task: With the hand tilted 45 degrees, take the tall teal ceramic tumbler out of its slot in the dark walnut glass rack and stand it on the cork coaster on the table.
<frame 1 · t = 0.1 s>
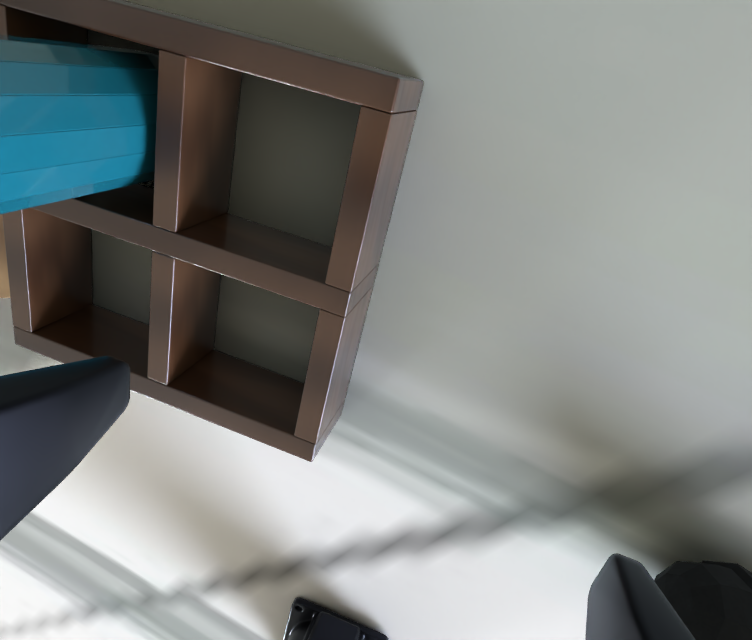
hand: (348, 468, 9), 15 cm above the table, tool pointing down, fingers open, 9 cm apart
glass rack: (216, 220, 25), on the table
tumbler: (149, 116, 24), resting in glass rack
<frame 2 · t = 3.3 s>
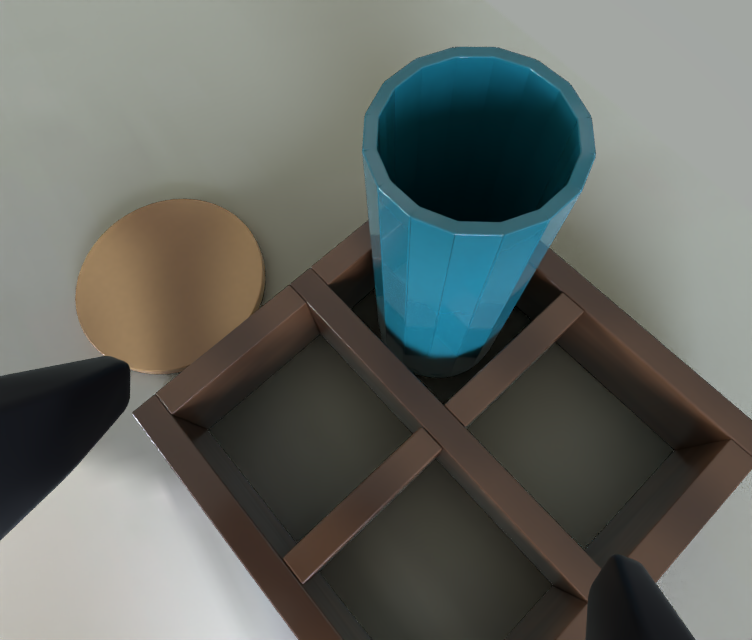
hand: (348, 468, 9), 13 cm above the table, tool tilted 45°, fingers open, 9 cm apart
coaster: (174, 284, 25), on the table
glass rack: (435, 439, 22), on the table
tumbler: (436, 322, 24), resting in glass rack
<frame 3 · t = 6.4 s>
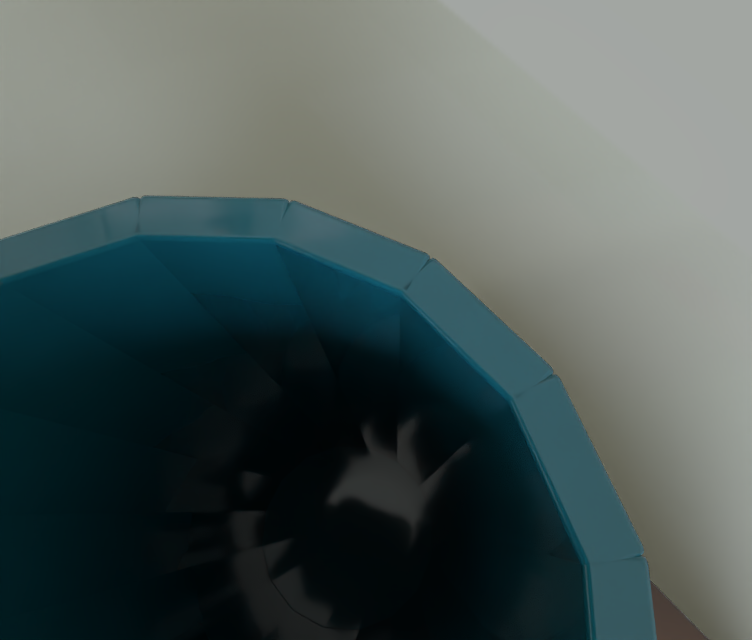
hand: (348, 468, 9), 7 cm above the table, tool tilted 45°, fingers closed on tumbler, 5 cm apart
tumbler: (349, 532, 15), resting in glass rack, touching gripper
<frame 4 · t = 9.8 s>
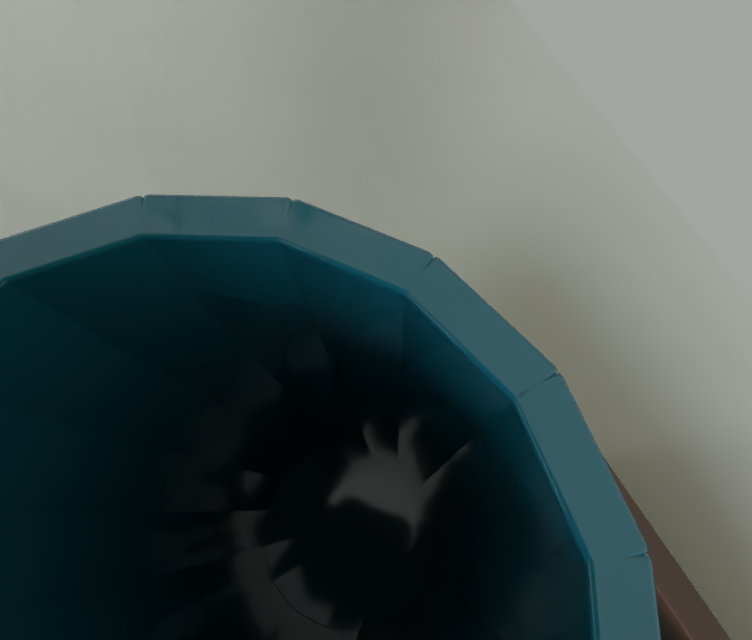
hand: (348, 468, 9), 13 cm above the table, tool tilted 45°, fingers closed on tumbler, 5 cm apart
tumbler: (349, 531, 15), point 7 cm above the table, touching gripper
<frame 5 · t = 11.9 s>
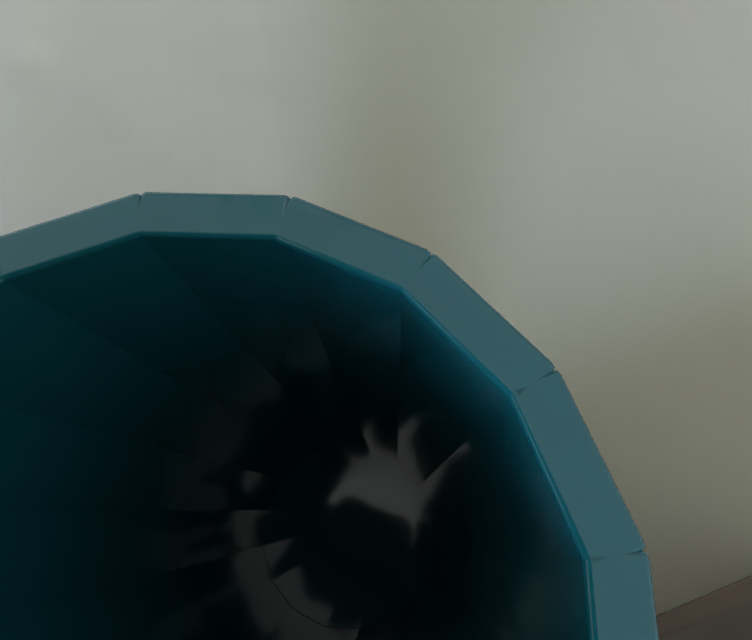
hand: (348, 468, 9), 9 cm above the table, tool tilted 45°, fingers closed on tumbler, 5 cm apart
tumbler: (349, 531, 15), point 3 cm above the table, touching gripper
when the fingers open (7 cm above the table, at t = 13.1 s): tumbler stays where it is, resting on coaster.
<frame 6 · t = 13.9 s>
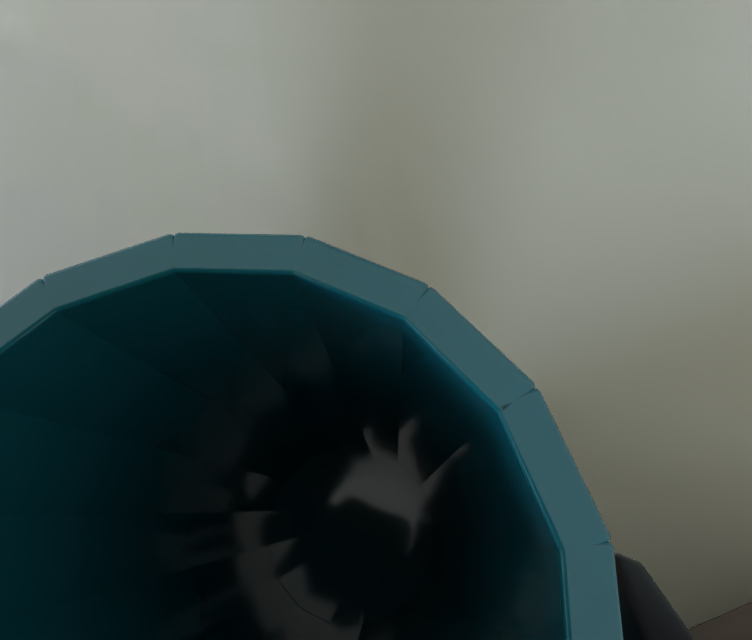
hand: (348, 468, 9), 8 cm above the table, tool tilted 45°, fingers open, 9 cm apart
tumbler: (351, 530, 15), point 1 cm above the table, touching coaster
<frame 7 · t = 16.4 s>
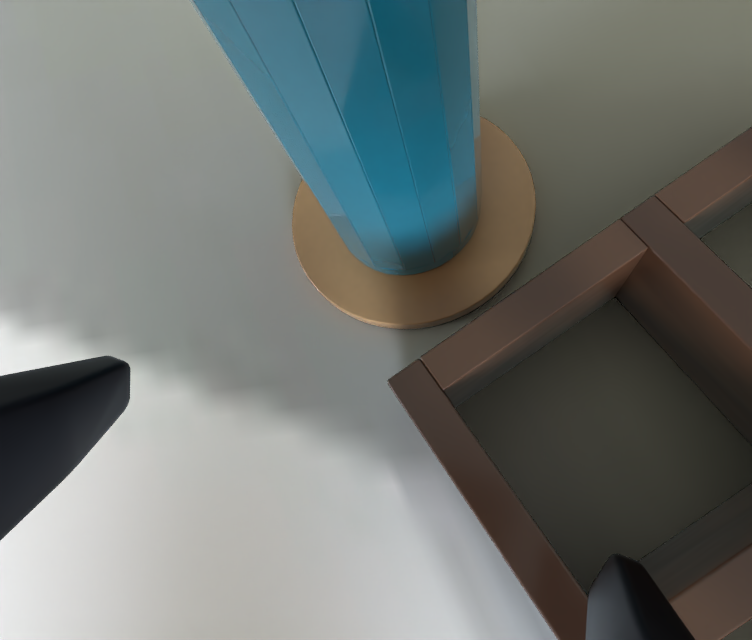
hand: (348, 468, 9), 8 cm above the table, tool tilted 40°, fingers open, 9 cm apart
coaster: (410, 214, 20), on the table
tumbler: (407, 208, 19), point 1 cm above the table, touching coaster
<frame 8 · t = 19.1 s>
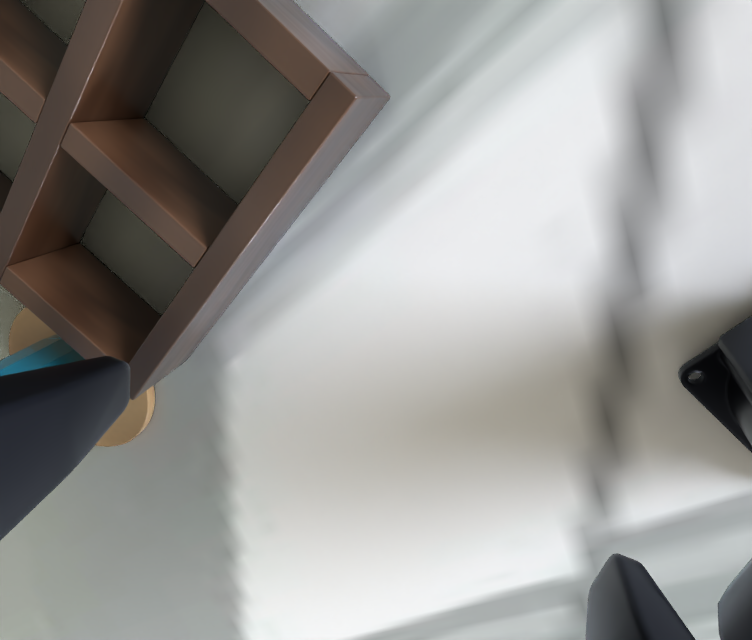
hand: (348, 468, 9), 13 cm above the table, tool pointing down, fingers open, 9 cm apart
coaster: (85, 372, 29), on the table
glass rack: (129, 118, 22), on the table
tumbler: (77, 378, 28), point 1 cm above the table, touching coaster
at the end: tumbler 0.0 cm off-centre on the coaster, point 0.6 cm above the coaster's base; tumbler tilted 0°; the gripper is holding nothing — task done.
